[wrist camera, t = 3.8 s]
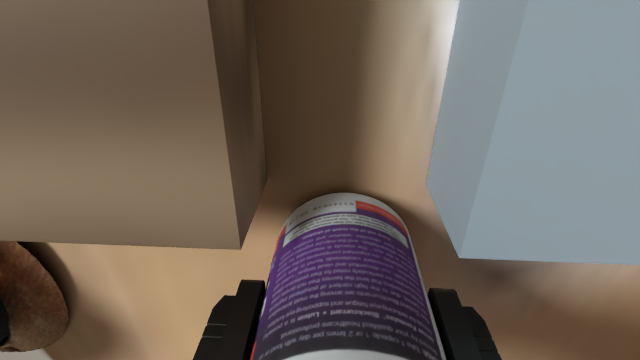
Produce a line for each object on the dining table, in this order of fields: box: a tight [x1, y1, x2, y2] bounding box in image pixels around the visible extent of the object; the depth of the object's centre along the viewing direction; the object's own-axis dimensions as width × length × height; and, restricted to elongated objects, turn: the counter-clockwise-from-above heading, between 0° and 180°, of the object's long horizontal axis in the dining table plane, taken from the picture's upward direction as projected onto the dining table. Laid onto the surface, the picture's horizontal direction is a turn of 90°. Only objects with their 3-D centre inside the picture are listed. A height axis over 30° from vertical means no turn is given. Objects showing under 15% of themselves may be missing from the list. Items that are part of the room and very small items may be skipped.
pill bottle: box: [249, 193, 446, 360], centre depth 10 cm, size 5×5×10 cm
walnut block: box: [0, 0, 267, 250], centre depth 9 cm, size 10×10×4 cm
